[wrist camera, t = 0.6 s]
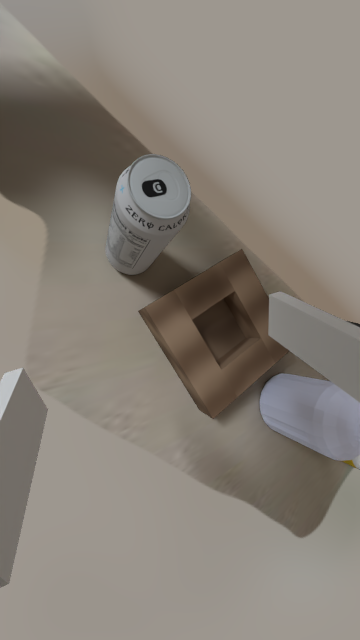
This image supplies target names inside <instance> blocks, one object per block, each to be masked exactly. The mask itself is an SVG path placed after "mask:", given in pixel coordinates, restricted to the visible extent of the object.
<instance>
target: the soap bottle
mask: <svg viewBox="0 0 360 640" xmlns="http://www.w3.org/2000/svg"><path fill="white" fill-rule="evenodd" d="M260 412H261V415H262V417H263V420H264V422H265V423H266V424H267V425H268V426H269V427H270V428H271V429H272V430H274V431H276V432H278V433H280V434H282V435H284V436H286V437H288V438H290V439H292V440H294V441H296V442H298V443H300V444H302V445H304V446H306V447H308V448H310V449H312V450H314V451H316V452H319V453H321V454H323V455H325V456H327V457H329V458H331V459H333V460H341V461H345V460H352V459H354V458H355V457H357V456H358V455H360V403H359V402H358V401H357V400H355V399H354V398H353V397H351V396H350V395H349V394H347V393H346V392H345V391H343V390H342V389H341V388H339V387H338V386H337V385H335V384H334V383H332V382H331V381H326V380H321V379H315V378H309V377H304V376H298V375H292V374H283V373H281V374H278V375H276V376H273V377H272V378H271V379H270V380H269V381H267V382H266V384H265V386H264V388H263V390H262V392H261V397H260Z"/></svg>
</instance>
